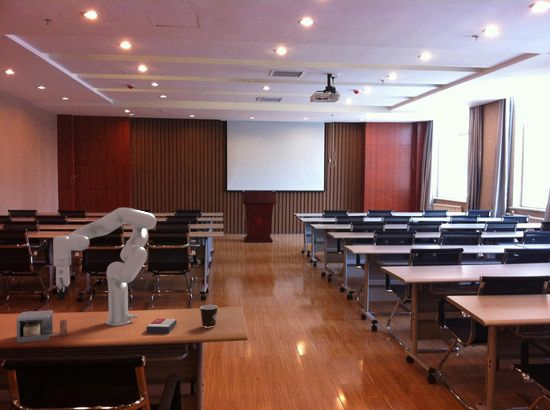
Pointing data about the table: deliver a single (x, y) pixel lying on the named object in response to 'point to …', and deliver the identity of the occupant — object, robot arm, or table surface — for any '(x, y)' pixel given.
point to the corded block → (35, 329)
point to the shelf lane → (35, 317)
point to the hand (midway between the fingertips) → (62, 297)
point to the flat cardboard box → (161, 326)
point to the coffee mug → (208, 315)
